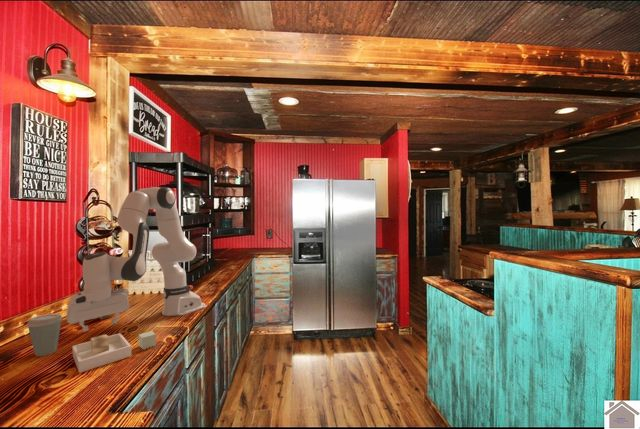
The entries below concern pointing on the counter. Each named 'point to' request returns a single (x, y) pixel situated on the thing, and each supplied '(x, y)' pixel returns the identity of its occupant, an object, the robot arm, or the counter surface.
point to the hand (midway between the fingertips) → (100, 327)
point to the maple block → (99, 344)
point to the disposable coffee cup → (44, 333)
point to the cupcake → (105, 316)
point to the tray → (89, 360)
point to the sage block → (147, 339)
